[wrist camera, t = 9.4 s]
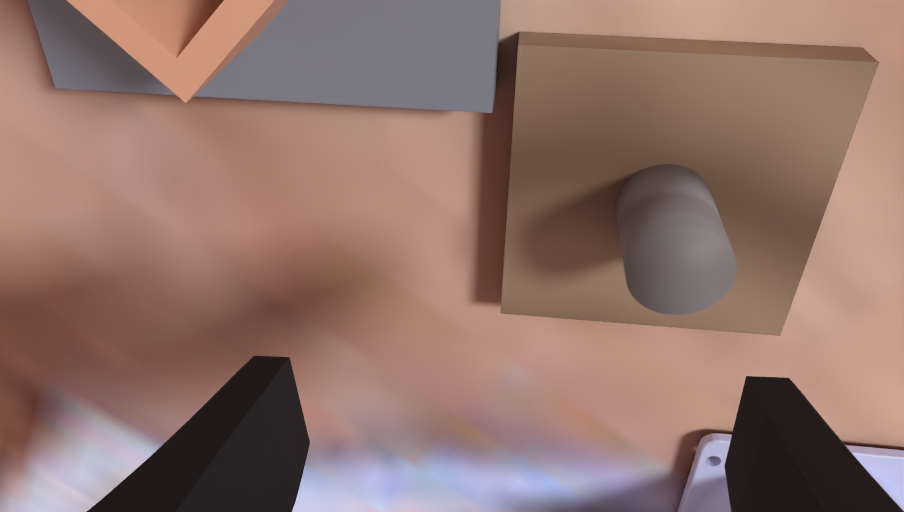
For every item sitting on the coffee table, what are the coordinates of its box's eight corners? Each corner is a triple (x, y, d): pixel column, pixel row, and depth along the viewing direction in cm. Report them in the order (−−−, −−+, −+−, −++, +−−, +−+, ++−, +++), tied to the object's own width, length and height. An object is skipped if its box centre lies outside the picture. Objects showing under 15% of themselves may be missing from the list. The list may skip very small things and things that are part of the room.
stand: (770, 313, 21) (811, 413, 18) (502, 292, 22) (494, 385, 19) (862, 47, 17) (940, 116, 13) (519, 31, 17) (512, 94, 14)
